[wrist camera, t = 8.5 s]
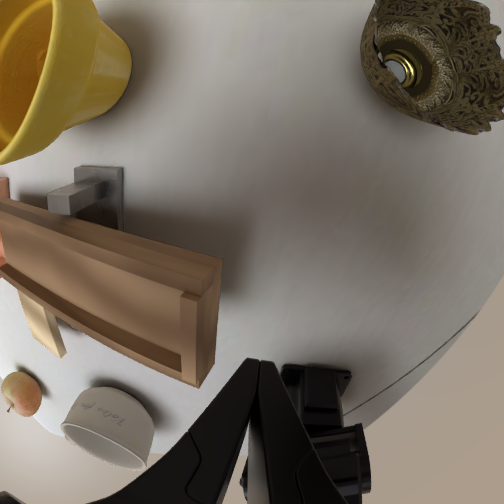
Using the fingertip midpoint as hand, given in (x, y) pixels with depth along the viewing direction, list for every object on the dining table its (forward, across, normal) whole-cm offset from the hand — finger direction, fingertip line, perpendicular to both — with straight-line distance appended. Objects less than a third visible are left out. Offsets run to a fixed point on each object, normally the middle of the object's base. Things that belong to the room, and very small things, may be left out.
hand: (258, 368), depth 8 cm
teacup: (+12, +16, +26) cm, 33 cm away
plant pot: (+12, +14, -10) cm, 21 cm away
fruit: (+12, +34, +31) cm, 48 cm away
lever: (+8, +13, +7) cm, 17 cm away
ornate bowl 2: (+12, -6, -12) cm, 18 cm away
